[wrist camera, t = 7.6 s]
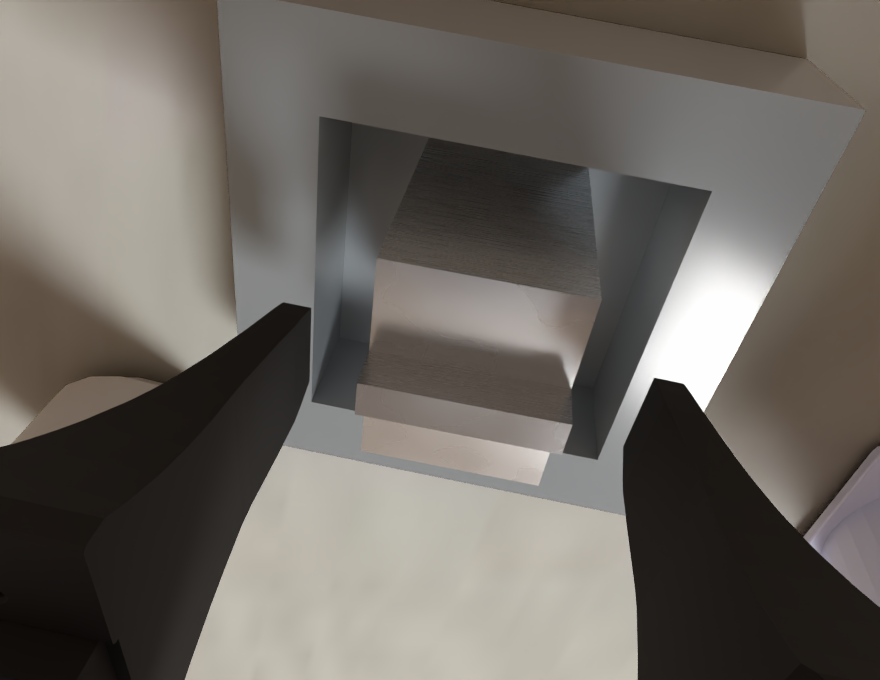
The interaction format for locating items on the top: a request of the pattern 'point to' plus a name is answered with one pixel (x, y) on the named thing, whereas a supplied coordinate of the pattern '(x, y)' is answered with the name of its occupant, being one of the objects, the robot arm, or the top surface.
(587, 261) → the bracket
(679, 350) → the well block
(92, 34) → the top surface
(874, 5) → the top surface
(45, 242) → the top surface
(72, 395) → the can
